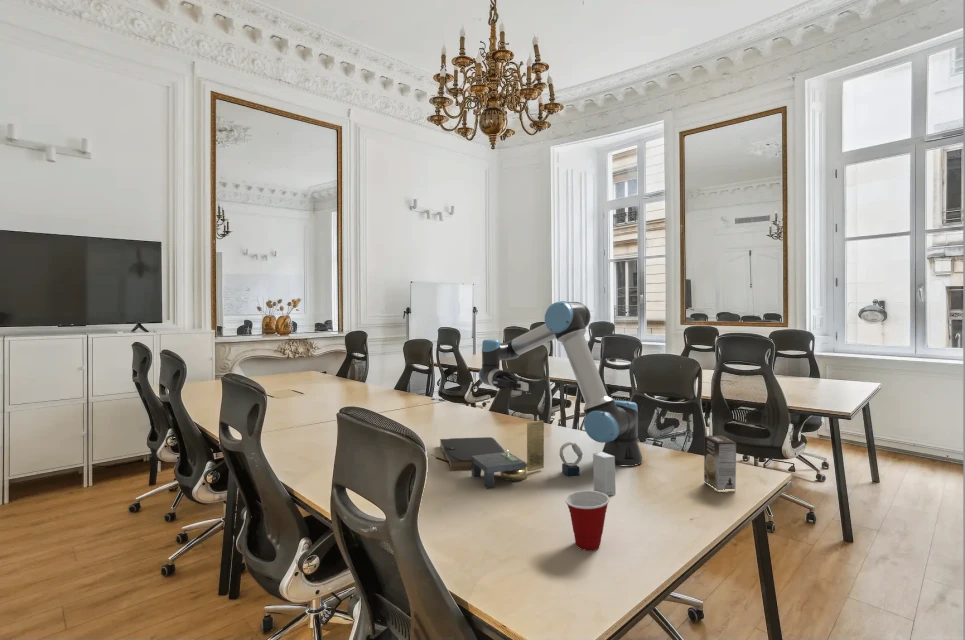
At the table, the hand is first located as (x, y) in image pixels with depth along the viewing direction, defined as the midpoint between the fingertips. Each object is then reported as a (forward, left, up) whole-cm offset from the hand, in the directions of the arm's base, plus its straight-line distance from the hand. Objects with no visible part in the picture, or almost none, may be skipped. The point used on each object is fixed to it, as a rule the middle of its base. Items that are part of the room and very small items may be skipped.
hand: (526, 387), depth 188 cm
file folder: (+24, 0, -30) cm, 39 cm away
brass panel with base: (-2, +8, -29) cm, 30 cm away
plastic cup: (-46, +44, -30) cm, 70 cm away
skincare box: (-34, +7, -30) cm, 45 cm away
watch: (-17, -3, -30) cm, 34 cm away
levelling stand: (0, +18, -30) cm, 34 cm away
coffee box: (-62, -20, -30) cm, 71 cm away
